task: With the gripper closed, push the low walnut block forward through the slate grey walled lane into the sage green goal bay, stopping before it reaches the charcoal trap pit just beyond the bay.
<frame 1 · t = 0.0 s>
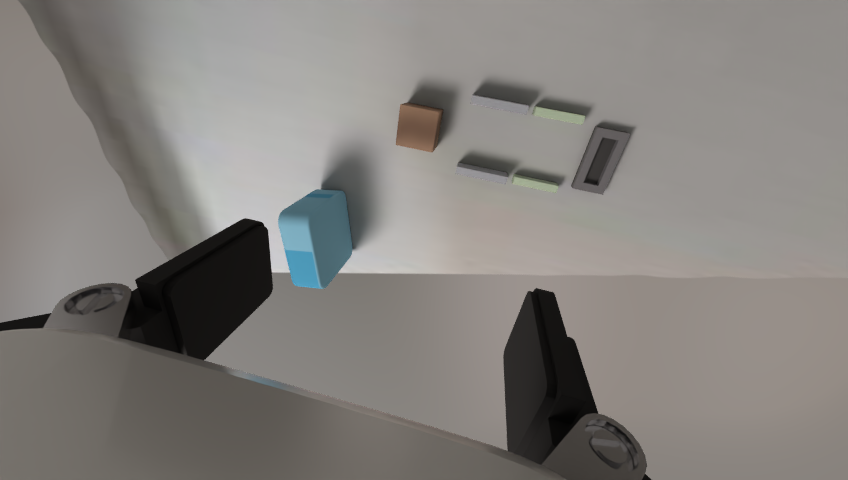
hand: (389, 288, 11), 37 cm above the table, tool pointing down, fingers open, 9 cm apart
trap pit: (598, 160, 42), on the table
data package: (337, 220, 54), on the table
walled lane: (489, 138, 43), on the table
goal bay: (544, 149, 42), on the table
walnut block: (422, 125, 44), on the table
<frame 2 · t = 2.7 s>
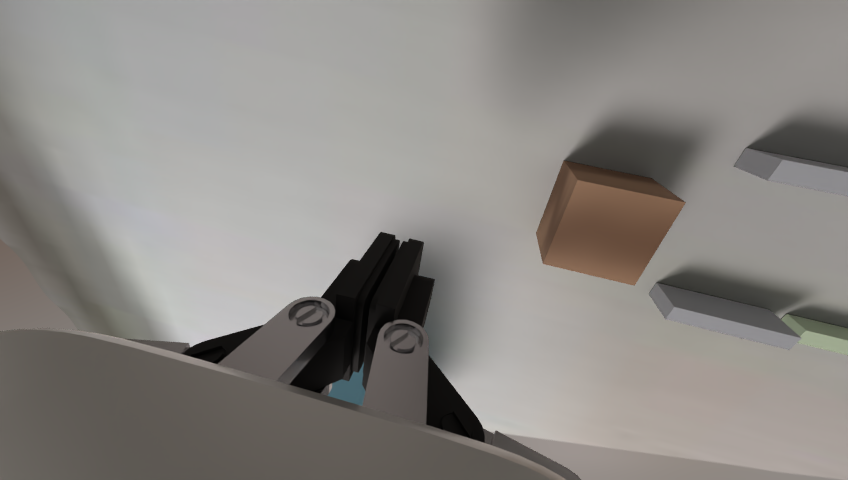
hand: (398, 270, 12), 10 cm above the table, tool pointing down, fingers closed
data package: (382, 349, 30), on the table
walled lane: (753, 244, 19), on the table
walnut block: (588, 207, 20), on the table
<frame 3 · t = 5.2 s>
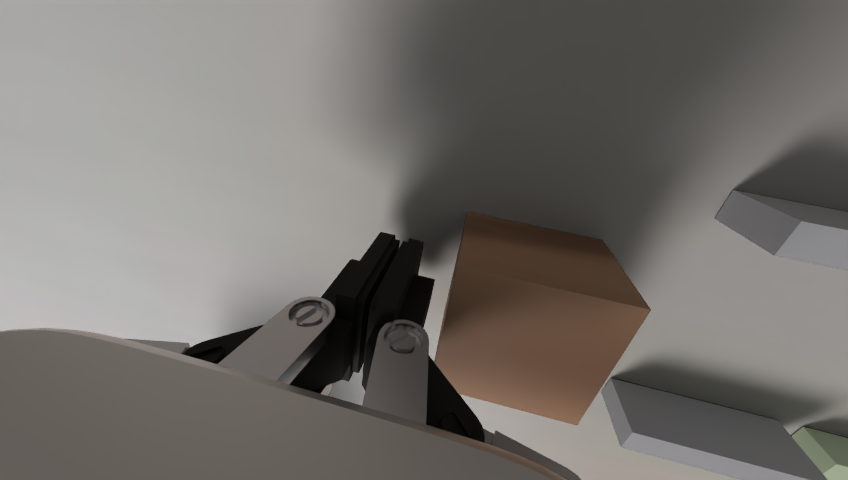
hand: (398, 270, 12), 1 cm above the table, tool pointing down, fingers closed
walled lane: (750, 332, 12), on the table
walnut block: (514, 279, 13), on the table, touching gripper
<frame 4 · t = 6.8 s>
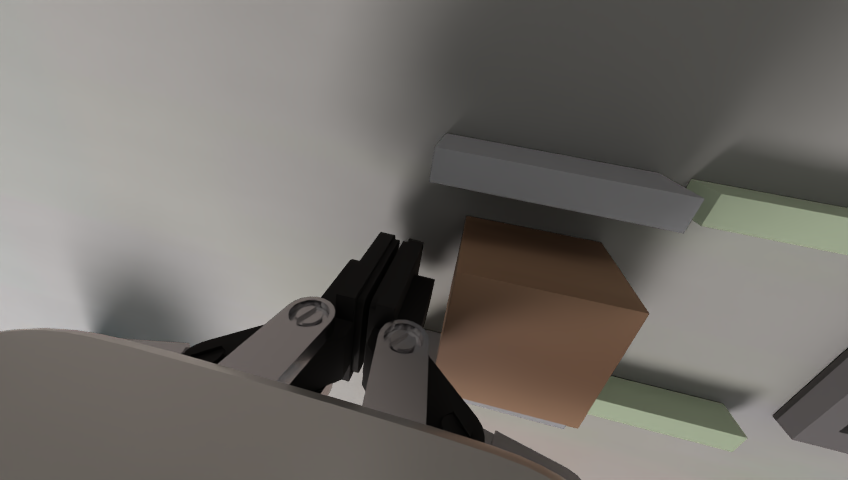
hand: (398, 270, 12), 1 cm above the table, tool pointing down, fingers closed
walled lane: (508, 274, 13), on the table
goal bay: (702, 318, 12), on the table
walnut block: (514, 282, 13), on the table, touching gripper
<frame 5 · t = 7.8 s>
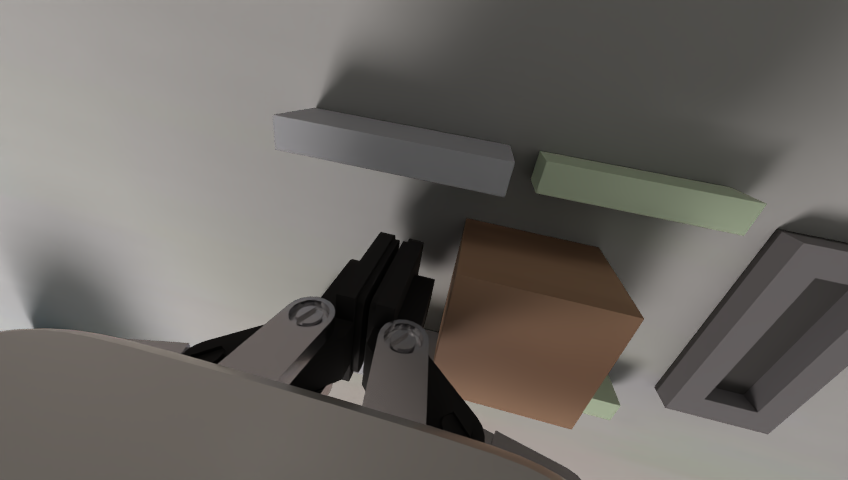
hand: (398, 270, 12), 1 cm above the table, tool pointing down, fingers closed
trap pit: (761, 333, 12), on the table
walled lane: (394, 248, 13), on the table
goal bay: (574, 290, 13), on the table
walnut block: (512, 284, 13), on the table, touching gripper
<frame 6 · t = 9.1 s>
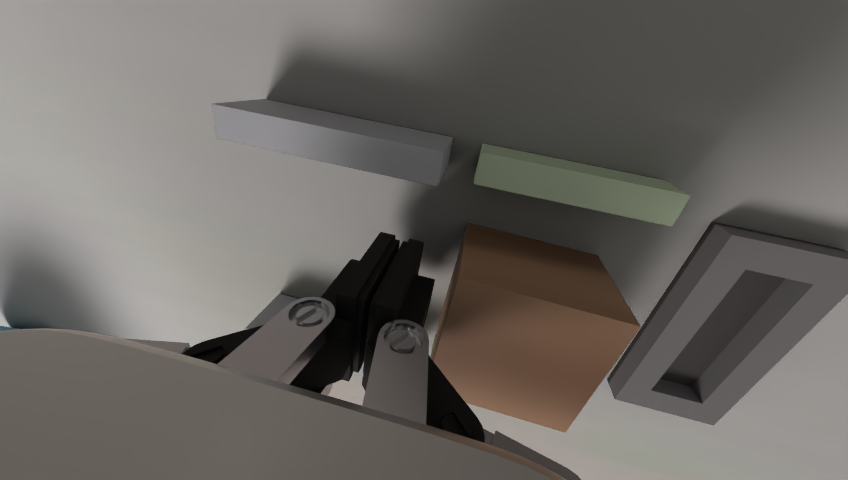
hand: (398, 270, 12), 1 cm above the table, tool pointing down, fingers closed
trap pit: (704, 325, 12), on the table
walled lane: (349, 240, 13), on the table
goal bay: (524, 282, 13), on the table
walnut block: (510, 288, 13), on the table
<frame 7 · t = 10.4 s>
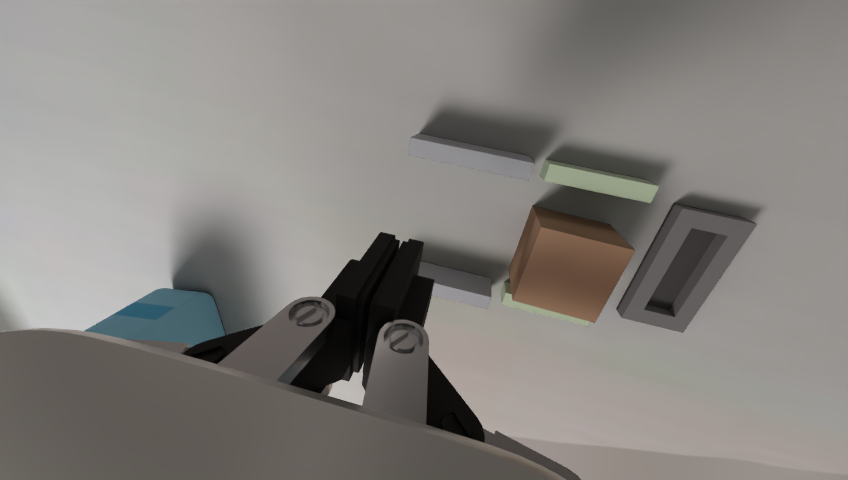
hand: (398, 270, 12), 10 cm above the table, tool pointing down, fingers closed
trap pit: (674, 267, 20), on the table
data package: (209, 333, 32), on the table
walled lane: (456, 217, 22), on the table
goal bay: (565, 242, 21), on the table
walnut block: (555, 247, 22), on the table
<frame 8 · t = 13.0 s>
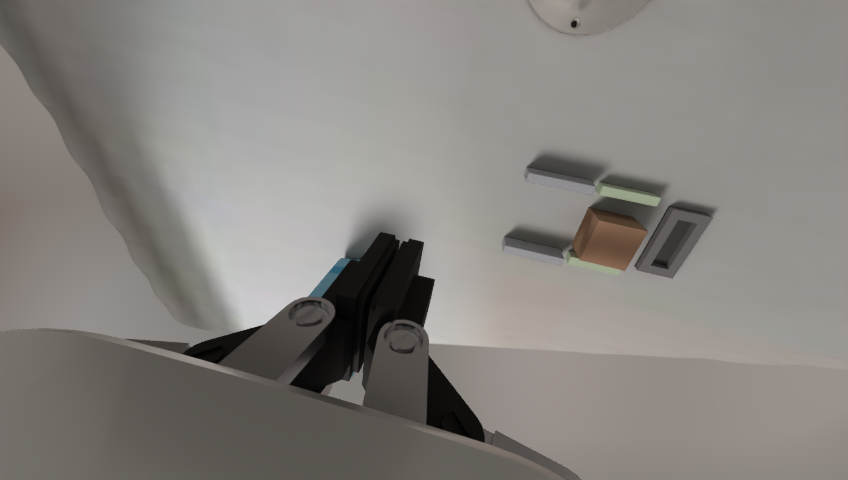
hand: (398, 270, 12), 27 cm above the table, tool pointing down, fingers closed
trap pit: (668, 241, 36), on the table
data package: (362, 288, 48), on the table
walled lane: (542, 213, 38), on the table
goal bay: (606, 227, 37), on the table
walnut block: (600, 230, 37), on the table
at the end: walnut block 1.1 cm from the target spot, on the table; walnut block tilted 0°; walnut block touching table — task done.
